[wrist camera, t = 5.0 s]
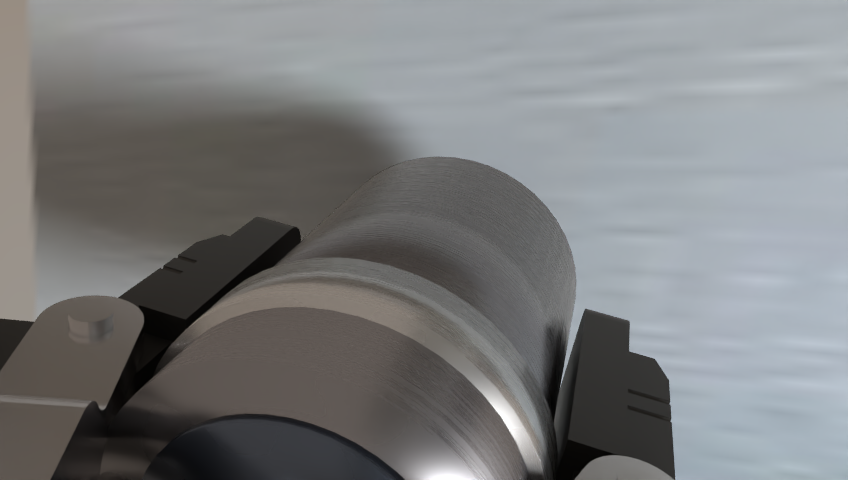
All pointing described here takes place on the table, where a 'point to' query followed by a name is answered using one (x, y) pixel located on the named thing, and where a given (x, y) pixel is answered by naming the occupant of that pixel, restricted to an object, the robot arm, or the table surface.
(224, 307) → the lens
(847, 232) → the table surface
